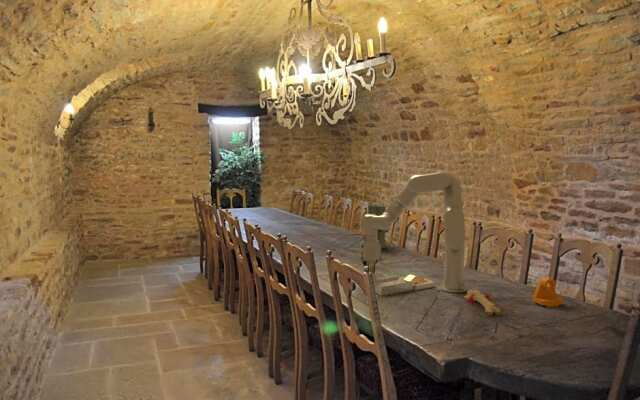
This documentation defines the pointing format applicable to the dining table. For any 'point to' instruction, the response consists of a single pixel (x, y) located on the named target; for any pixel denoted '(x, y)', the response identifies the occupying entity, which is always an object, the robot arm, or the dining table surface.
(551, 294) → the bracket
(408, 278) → the chip
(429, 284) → the tray
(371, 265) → the scraper
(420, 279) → the chip
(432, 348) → the dining table surface
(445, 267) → the robot arm
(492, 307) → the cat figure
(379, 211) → the religious sculpture
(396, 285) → the channel
